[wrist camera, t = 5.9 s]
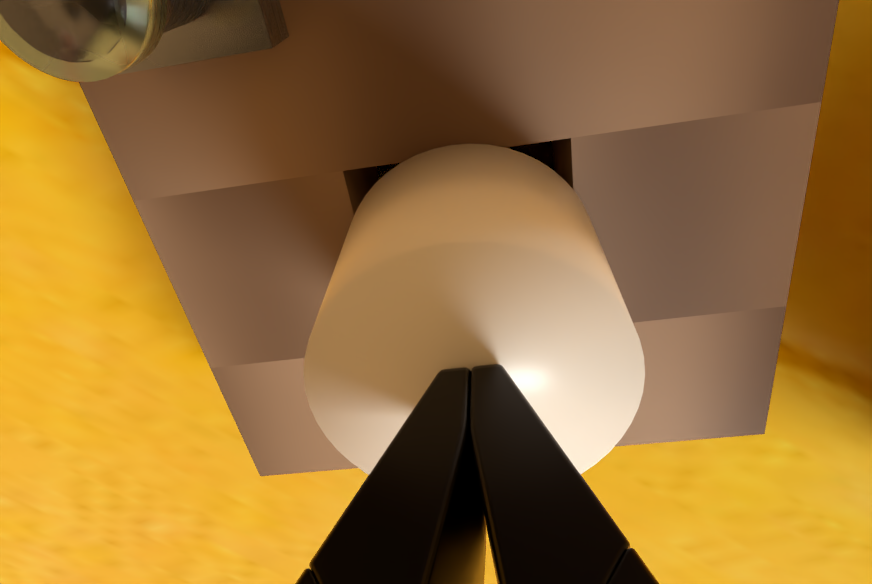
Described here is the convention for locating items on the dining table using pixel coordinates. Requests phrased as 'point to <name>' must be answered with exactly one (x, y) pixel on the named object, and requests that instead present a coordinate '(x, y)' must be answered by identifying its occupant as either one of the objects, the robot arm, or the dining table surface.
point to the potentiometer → (134, 33)
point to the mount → (500, 126)
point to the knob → (473, 304)
